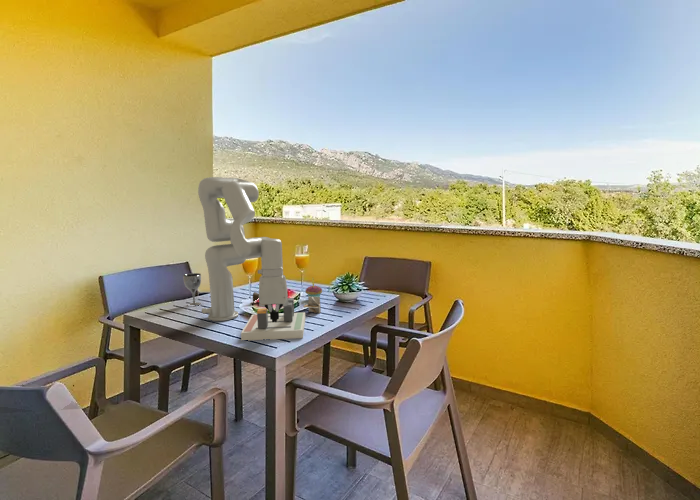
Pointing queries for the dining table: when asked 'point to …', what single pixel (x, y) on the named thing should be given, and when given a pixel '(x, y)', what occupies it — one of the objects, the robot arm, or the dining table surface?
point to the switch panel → (277, 326)
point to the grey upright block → (262, 318)
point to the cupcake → (313, 290)
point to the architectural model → (314, 304)
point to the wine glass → (192, 284)
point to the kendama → (255, 296)
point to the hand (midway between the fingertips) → (274, 321)
